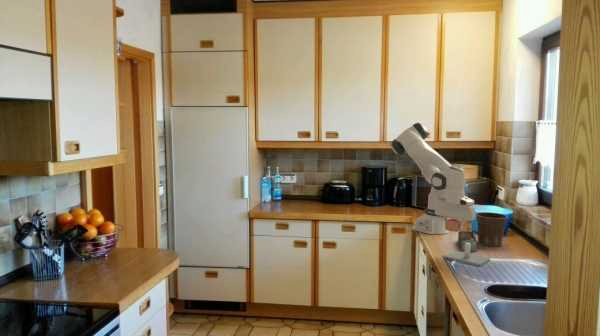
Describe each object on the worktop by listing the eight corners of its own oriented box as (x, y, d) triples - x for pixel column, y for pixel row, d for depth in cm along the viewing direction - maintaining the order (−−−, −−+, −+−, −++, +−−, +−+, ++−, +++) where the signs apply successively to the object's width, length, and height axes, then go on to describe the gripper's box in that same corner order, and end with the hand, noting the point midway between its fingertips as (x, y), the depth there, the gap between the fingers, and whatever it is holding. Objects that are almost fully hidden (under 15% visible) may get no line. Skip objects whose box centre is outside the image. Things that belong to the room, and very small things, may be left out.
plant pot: (491, 238, 264) (492, 211, 262) (512, 245, 249) (514, 216, 247) (468, 241, 258) (469, 213, 257) (488, 248, 243) (490, 219, 241)
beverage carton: (460, 250, 240) (461, 238, 239) (457, 241, 259) (458, 229, 258) (476, 252, 238) (477, 239, 238) (472, 242, 257) (473, 230, 256)
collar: (445, 229, 228) (445, 219, 227) (450, 227, 232) (451, 218, 232) (456, 231, 224) (456, 221, 223) (462, 229, 228) (462, 220, 227)
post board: (444, 258, 227) (444, 242, 226) (454, 253, 235) (455, 237, 234) (480, 266, 214) (481, 249, 213) (490, 260, 223) (491, 244, 222)
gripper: (432, 197, 231) (431, 224, 233) (471, 202, 217) (470, 231, 218) (439, 195, 236) (438, 222, 237) (477, 201, 221) (476, 229, 223)
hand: (453, 226), depth 228 cm, fingers closed on collar, 6 cm apart
